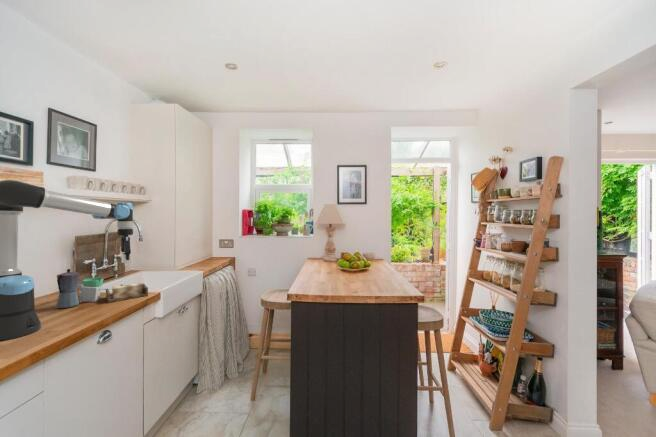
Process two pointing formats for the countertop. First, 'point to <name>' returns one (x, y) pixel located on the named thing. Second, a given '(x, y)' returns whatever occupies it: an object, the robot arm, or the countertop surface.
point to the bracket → (89, 293)
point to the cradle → (110, 296)
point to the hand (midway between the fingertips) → (125, 264)
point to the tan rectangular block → (127, 290)
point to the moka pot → (67, 289)
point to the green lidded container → (93, 282)
